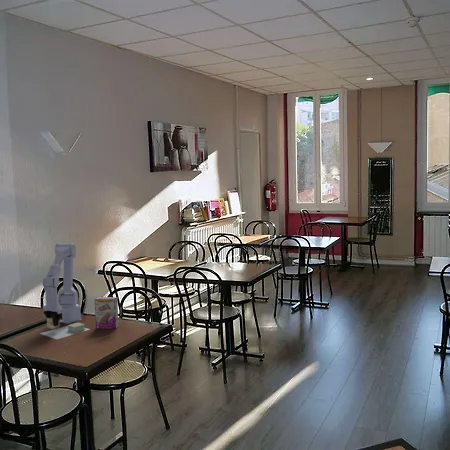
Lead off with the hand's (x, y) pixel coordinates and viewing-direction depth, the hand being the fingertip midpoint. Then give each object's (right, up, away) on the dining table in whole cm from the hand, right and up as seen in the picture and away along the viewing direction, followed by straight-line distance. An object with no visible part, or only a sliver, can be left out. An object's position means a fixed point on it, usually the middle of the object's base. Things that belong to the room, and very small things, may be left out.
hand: (53, 324), depth 273 cm
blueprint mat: (+6, -4, +2) cm, 7 cm away
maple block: (0, -1, 0) cm, 1 cm away
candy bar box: (+27, -3, +7) cm, 28 cm away
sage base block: (+11, -3, +3) cm, 12 cm away
